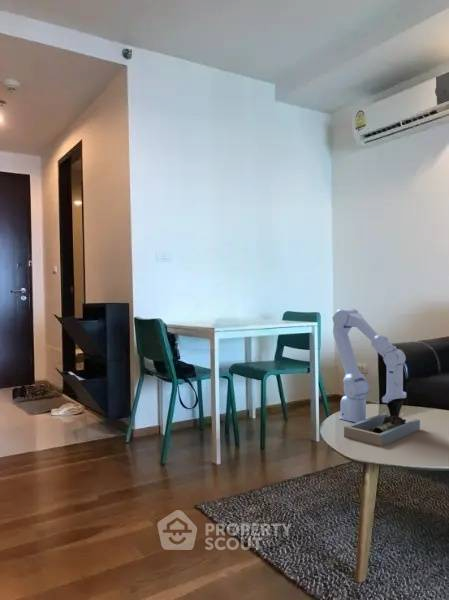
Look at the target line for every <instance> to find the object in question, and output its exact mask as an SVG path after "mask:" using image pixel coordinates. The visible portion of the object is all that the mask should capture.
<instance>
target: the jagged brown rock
mask: <svg viewBox="0 0 449 600" xmlns="http://www.w3.org/2000/svg"><path fill="white" fill-rule="evenodd" d="M405 423H407V420H406V418H405V419H404V418H402V417H401V416H399V417H397V416H390V415H388V417H385V418H384V421H383V424H382V425H381V426H378V427H375V428H372V429H371V432H374V433H378V434H380V433H382V432H385V431H387V430H390V429H392V428H395V427H397V426H400V425H402V424H405Z"/></svg>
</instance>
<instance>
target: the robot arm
mask: <svg viewBox="0 0 449 600" xmlns="http://www.w3.org/2000/svg"><path fill="white" fill-rule="evenodd" d="M332 323H333V326H332V327H333V329H332V334H333V338H334V341H335V345H336V347H337V351H338V355H339V358H340V360H341V364H342V367H343V370H344V374H345V375H344V378H343V380H342V382H343V391H344V392H343V393H344V396H342V397H341V399H340V402H339V403H340V404H339V405H340V411H339V413H340V416H339V419H340V420H344V421H349V422H353V423H356V422H359V421H362V420H365V419H368V418H369V417H367V394H369V391H370V390H371V389H370V384H369V382H368V381H367V380H366V378H365V375H364V374H363V373H362V372H361V371H360V370H359V366H358V362H357V360H356V357H355V353H354V350H353V347H352V344H351V341H350V337H349V333H350V331H351V329H352V328H353V327H354V328H356V329H357V330H359V331H360V332H361V333H362V334H363V335H364V336H365V337H367V338H368V339H369V340H370V341H371V346H372V348H374V350H375V351H376V352H377V353H378V354H379V355H380V356H381V357H382V359H383V362H384V364H385V366H386V393H385V395H383V396H382V398H381V401H382V402H381V403H384V404H386V406H387V410H388V413H389V416H397V417H400V412H401V409H402V407H403V405H404V404H405V400H404V399H406V398H407V392H406V391H404V364H405V362H406V361H407V360H406V359H407V357H406V353H404V351H403V349H398V348H397V346H396V345H393V343H392V342H390V341H389V340H388V339H389V338H388V336H385V335H382V334H378V333H377V332H376V331H375V330H374V329H373V327H372V326H371V325H370V324H369V323H368V322H367V321H366V320H365V318H364V317H363V315H362V314H361V313H360V312H359V311H358V310H357V309H356V308H350V309H349V308H347V309H343V308H341V309H337V310H336V311H335V313H334V314H333V316H332Z"/></svg>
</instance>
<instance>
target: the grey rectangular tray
mask: <svg viewBox="0 0 449 600" xmlns="http://www.w3.org/2000/svg"><path fill="white" fill-rule="evenodd" d="M385 417H389V413H387V412H383V413H380V414H378V415H375V416H372V417H367V418H368V419H365V420H362V421H359V422H353V423H350V424H348V425H345V426H344V427H343V437H344V438H347V439H352V440H355V441H359V442H363V443H367V444H370V445H375V446H378V447H382V446H385V445H387V444H389V443H392V442H394V441H397V440H399V439H401V438H403V437H406V436H408V435H410V434H412V433H415V432H417V431H420V430H421V420H420V419H416V418H415V419H413V420H410V421H408V422H405V424H402V425H400V426H397V427H395V428H392V429H390V430H387V431H385V432H382V433H380V434H378V433H374V432H372V431H370V430H373V429H374V428H375V427H378V426H381V425H382V424H383V421H384V418H385ZM369 429H370V430H369Z"/></svg>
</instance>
